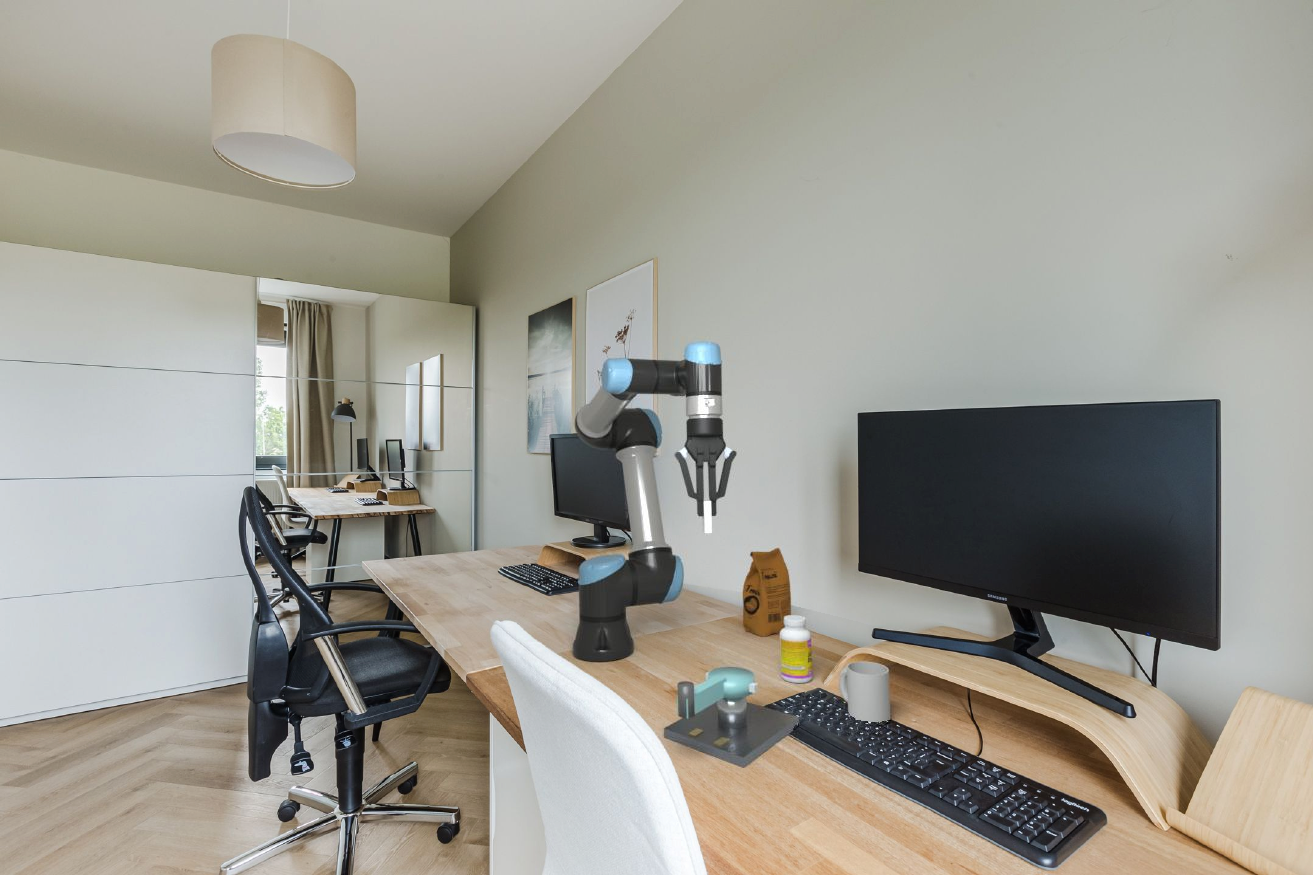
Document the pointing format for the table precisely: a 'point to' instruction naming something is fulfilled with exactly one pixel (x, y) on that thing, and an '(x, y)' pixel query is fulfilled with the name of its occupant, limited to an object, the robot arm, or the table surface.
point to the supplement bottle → (795, 650)
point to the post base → (732, 730)
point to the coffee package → (766, 594)
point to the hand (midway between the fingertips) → (707, 532)
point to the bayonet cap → (714, 689)
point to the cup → (866, 690)
